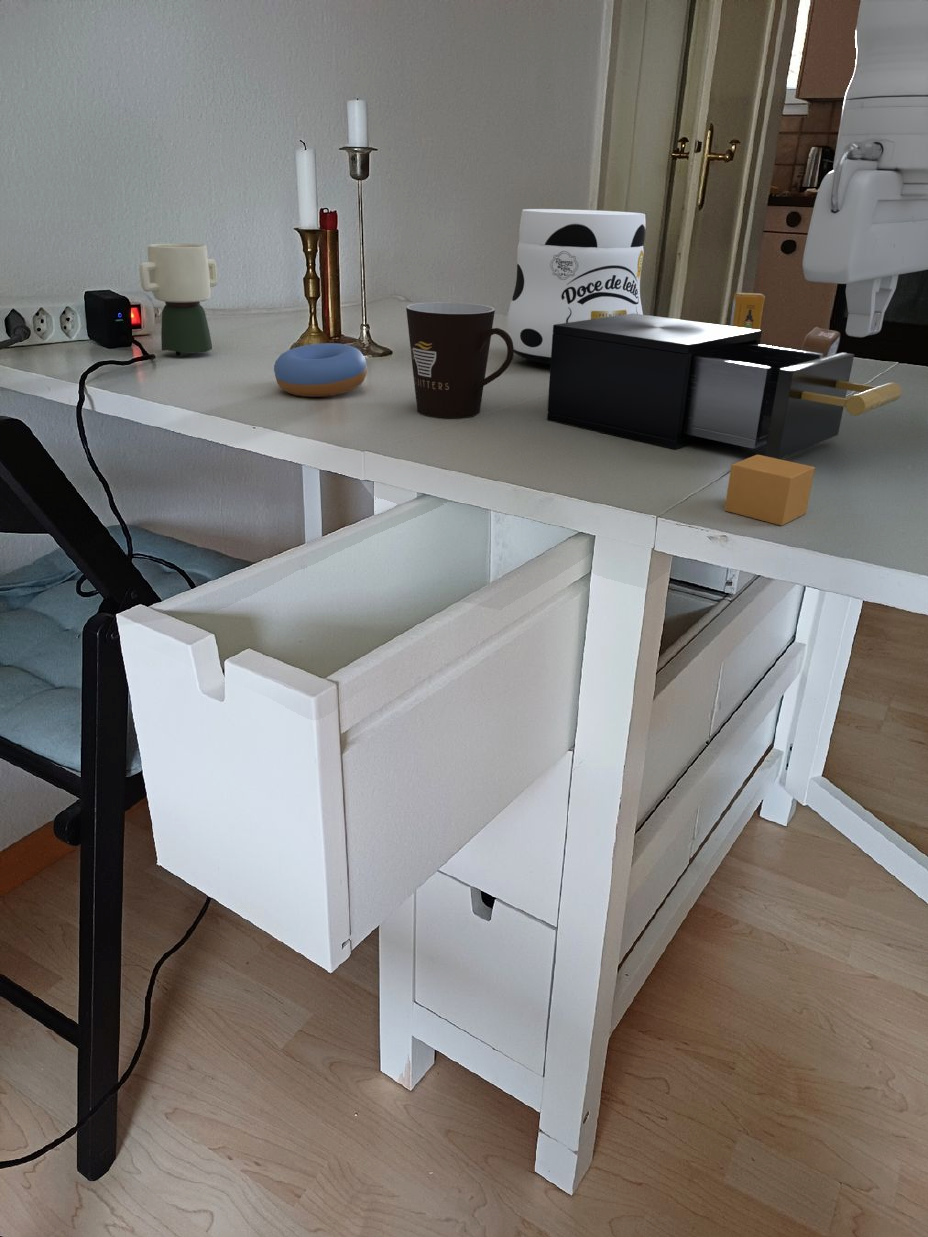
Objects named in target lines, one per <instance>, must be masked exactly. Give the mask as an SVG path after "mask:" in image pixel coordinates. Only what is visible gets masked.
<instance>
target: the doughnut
mask: <svg viewBox="0 0 928 1237" xmlns="http://www.w3.org/2000/svg"><path fill="white" fill-rule="evenodd" d="M367 364H368V362H367V360H366V358H365V355H364V354H363V353H362V351H361V350H359V349H358V347H354V346H352V345H349V344H345V343H334V342H333V343H332V342H327V343H326V342H325V343H312V344H306V345H301V346H297V347H292V348H291V349H288V350H286V351H284V352H283V353H281V354H280V355H279V357H278V358H277V359H276V360H275V362H274V365H273V372H274V378H275V381H276V382H277V385H278V386H279V388H280V389H282V390H283V391H284V392H286V393H288V394H290V395H293V396H297V397H303V398H304V397H305V398H323V397H330V396H332V397H333V396H336V395H340V394H345V393H347V392H351V391H353V390H355V389H356V388H359V386H361V385H362V384H363V383H364V381H365V379H366V376H367V374H368V366H367Z"/></svg>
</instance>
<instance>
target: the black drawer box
mask: <svg viewBox="0 0 928 1237" xmlns="http://www.w3.org/2000/svg"><path fill="white" fill-rule="evenodd" d="M762 334H763V331H762V330H761V329H760V330H755V329H747V328H740V327H732V326H730V325H723V324H717V323H708V322H700V321H693V320H687V319H679V318H672V317H671V318H670V317H662V316H655V315H647V314H643V315H641V314H634V313H633V314H626V315H619V316H612V317H605V318H598V319H591V320H584V321H577V322H569V323H562V324H555V325H553V335H552V350H551V365H549V366H550V367H549V383H548V397H547V398H548V399H547V414H546V415H547V416H546V421H549V422H550V421H551V422H555V423H559V424H563V425H568V426H572V427H576V428H580V429H585V430H589V431H593V432H597V433H602V434H606V435H611V436H615V437H619V438H624V439H628V440H632V441H637V442H641V443H645V444H648V445H649V444H650V445H655V446H658V447H662V448H667V449H672V450H677V449H680V448H683V447H686V446H690V445H693V444H695V443H698V442H701V441H704V440H707V439H706V438H702V437H697V436H692V435H688V434H683V433H682V425H683V418H684V410H685V402H686V394H687V387H688V379H689V371H690V363H691V356H692V354H691V353H696V352H700V351H705V350H710V349H715V348H719V347H724V346H729V345H734V344H738V343H743V342H745V343H752V344H759V345H761V341H762V340H761V339H762Z"/></svg>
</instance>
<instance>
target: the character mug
mask: <svg viewBox="0 0 928 1237" xmlns="http://www.w3.org/2000/svg"><path fill="white" fill-rule="evenodd" d="M147 258H148V259H147V260H148V261H146V262H145V261H143V262H141V263H140V264H139V268H138V270H139V279H140V287H141V289H142V290H143V292H146V293H147V292H148V293H149V292H151V293H152V295H153V297H154V299H155V300H157V301H160V302H164V304H165V305H164V306H163V308H162V311H161V331H160V334H161V335H160V339H161V351H169V352H175V356H178V357H179V356H181V354H182V353H185V354H200V353H208V352H209V351H211V350H213V343H212V337H211V332H210V327H209V324H208V319H207V314H206V310H205V309H204V307H203V305H201V302H205V301H208V300H209V299H211V293H212V291H211V288H213V287H216V286H218V283H219V278H218V266H217V265H218V264H217V262H216V260H215V259H213V258H208V250H207V245H205V244H197V243H196V244H195V243H173V242H172V243H171V242H170V243H166V242H165V243H152V244H147Z"/></svg>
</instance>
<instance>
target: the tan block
mask: <svg viewBox="0 0 928 1237" xmlns="http://www.w3.org/2000/svg"><path fill="white" fill-rule="evenodd" d="M730 466H731V467H730V471H729V472H730V473H729V479H728V486H727V491H726V498H725V504H724V511H725V512H729V513H733V514H735V515H740V516H743V517H747V518H751V519H753V520H758V521H763V522H765V523H770V524H774V525H776V526H780V527H782V526H784V525H786V524H788V523H790V522H792V521H794V520H796V519H797V518H800V517H802V516H804V515H805V514H807V511H808V507H809V506H808V505H809V500H810V496H811V490H812V485H813V480H814V474H815V471H816V470H815V469H816V467H815V466H812V465H807V464H803V463H798V462H793V461H790V460H784V459H776V458H771V457H767V456H765V455H762V454H755V455H752V456H749V457H747V458H744V459H743V460H739V461H737V462H735V463H734V462H733V463H732V464H731V465H730Z"/></svg>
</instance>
